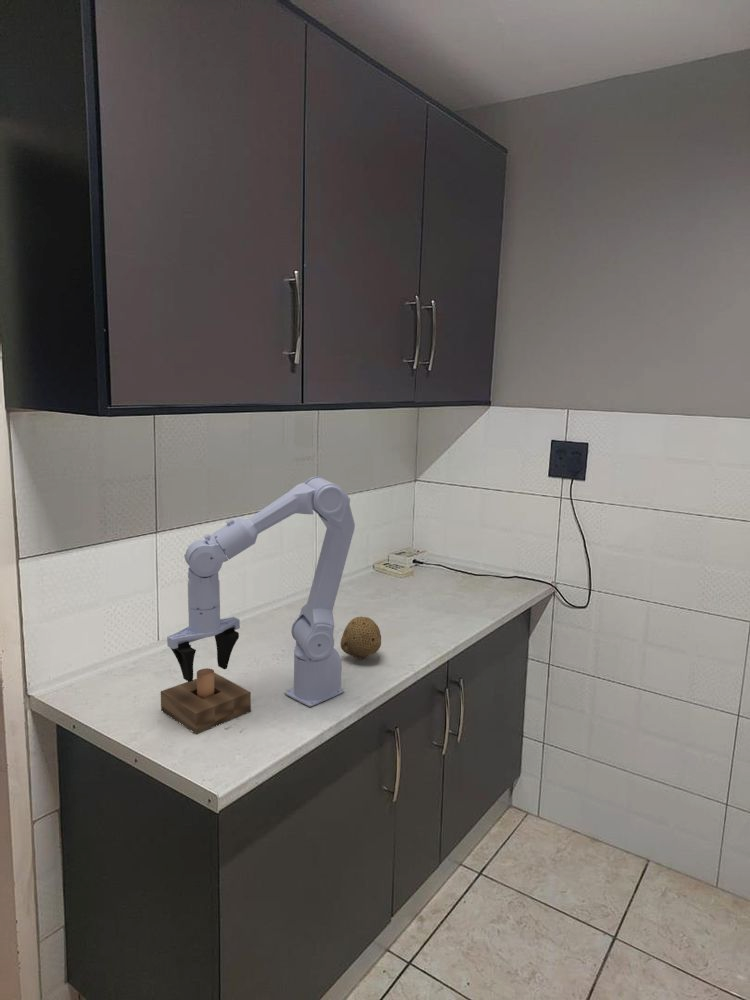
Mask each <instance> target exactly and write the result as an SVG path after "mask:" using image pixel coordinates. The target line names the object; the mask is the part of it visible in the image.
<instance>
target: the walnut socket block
mask: <svg viewBox="0 0 750 1000" xmlns="http://www.w3.org/2000/svg"><path fill="white" fill-rule="evenodd" d="M251 693H252V692H251V691H249V690H247V689H245V687H242V686H240V685H238V684H237V683H235V682H233V681H231V680H229V679H227V678H225V677H224V676H222V675H220V674H218V673H216V672H214V695H212V696H209V697H207V698H204V699H202V698H200V697H198V696H197V678H195V679H194V678H193V681H191V682H188V681H186V682H183V683H181V684H176V685H174V686H171V687H168V688H166V689H164V690H161V691H160V710H161V712H162V711H163V712H162V713H164V714H165V713H166V714H165V715H167V716H168V715H169V716H168V717H170V718H171V717H172V718H171V719H173V720H174V719H175V720H174V721H175V722H177V721H178V722H177V723H179V722H180V723H181V724H180V723H179V724H180V725H182V724H183V725H184V726H183V725H182V726H183V727H185V726H186V727H187V728H186V727H185V728H186V729H188V730H189V729H190V730H189V731H191V730H192V731H193V732H192V731H191V732H192V733H194V732H195V733H196V734H195V733H194V734H195V735H198V734H201V733H203V732H205V731H204V730H206V729H208V730H210V729H212V728H211V727H213V726H215V727H217V726H220V725H222V724H224V722H225V723H227V722H230V721H232V720H234V719H237V718H238V717H241V716H244V715H246V714H248V713H251V712H252V709H251V708H252V705H251V704H252V703H251V701H252V700H251V698H252V697H251ZM243 714H244V715H243ZM221 723H222V724H221ZM219 724H220V725H219ZM216 725H217V726H216ZM209 728H210V729H209ZM213 728H214V727H213ZM202 731H203V732H202ZM206 731H207V730H206ZM200 732H201V733H200ZM197 733H198V734H197Z"/></svg>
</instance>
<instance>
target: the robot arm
mask: <svg viewBox="0 0 750 1000" xmlns="http://www.w3.org/2000/svg"><path fill="white" fill-rule="evenodd" d="M350 503H351V498H350V497H349V495H348V494H347V493H346V491H344V489H343V488H342V487H341V486H340V485H338V484H336V483H333V482H331V481H329V480H327V479H326V478H324V477H322V476H312V477H310V478H308V479H306V480H305V482H301V483H299V484H296V485H295V486H294V487H293V488H291V489H290V490H289V491H288V492H285V493H284V495H281V496H280V497H279V498H277V499H275V500H273V502H272V503H270V504H269V505H267V506H266V507H264V508H262V509H261V510H259V511H258V512H257V513H255V514H254V515H252V516H251V517H249V518H243V517H237V518H236V519H233V518H231V517H230V518H229V519H228V520H226V522H225V523H226V525H224V526H222V527H221V528H220V529H217V530H216V531H214V532H213V533H211V534H210V533H207V534H205V535H203V538H204V539H197V540H195V541H193V542H191V543H190V544H189V545H188V546H187V549H186V551H185V553H184V560H185V562H186V564H187V566H188V569H187V570H188V572H187V578H188V580H187V605H188V607H187V608H188V626H186V627H185V628H183V629H181V630H179V631H177V632H175V633H172V634H170V635H167V636H166V638H167V640H166V641H167V643H166V644H167V647H168V648H170V649H171V651H172V653H173V655H174V656H175V659H177V663H178V665H179V668H180V671H181V673H182V677H183V680H184V681H186V682H191V681H193V680H194V661H195V655H196V652H197V650H196V649H195V648H193V647H192V644H190V643H192V642H195V641H196V642H197V641H200V640H201V639H202V640H203V639H206V638H210V637H211V638H212V637H214V639H215V645H216V655H217V657H216V661H217V666H218V667H219V668H220V669H223V670H227V669H228V665H229V662H230V658H231V655H232V651H233V650H234V647H235V645H236V643H237V641H238V640H239V637H240V635H239V632H238V631H237V630H239V629H241V627H240V626H241V625H240V624H241V623H240V618H237V617H235V616H231V617H227V618H222V619H221V599H220V598H221V596H220V595H221V594H220V593H221V592H220V591H221V590H220V588H221V587H220V585H221V584H220V580H219V572H220V570H221V569H222V566H223V563H226V562H228V561H229V560H231V559H232V558H235V557H236V556H238V555H239V554H241V553H242V552H244V551H246V550H247V549H248V548H250V547H252V546H254V545H255V544H256V542H257V538H258V536H259V534H261V533H262V532H265V531H266V530H268V529H269V528H271V527H273V526H275V525H276V524H278V523H281V522H282V521H284V520H286V519H288V518H290V517H291V516H293V515H295V514H301V515H314V512H315V513H316V514H317V515H318V517H319V518H320V520H321V521H322V522H323V524H324V526H325V527H326V530H325V533H324V538H323V541H322V546H321V550H320V552H319V553H320V554H319V557H318V561H317V564H316V569H315V571H314V576H313V580H312V583H311V587H310V590H309V595H308V599H307V601H306V603H305V604H304V605H303V606H302V607H301V608H300V613H299V615H298V617H297V618H296V619H295V620H294V621H293V623H292V625H291V636H292V638H293V639H294V640H295V642H296V641H297V645H295V648H294V649H293V687H292V688H290V689H288V690H285V691H284V695H286V696H288V697H290V699H291V698H292V699H293V700H295V701H297V702H299V703H300V704H303V705H305V706H307V707H309V708H310V707H314V706H316V705H318V704H321V703H322V702H324V701H325V702H326V701H328V700H330V699H331V698H334V697H337V696H338V695H340V694H343V693H344V692H345V690H344V689H343V688H342V670H343V669H342V668H343V667H342V666H343V665H342V658H341V655H340V653H339V652H338V650H337V649H336V648H334V647H335V638H334V630H335V622H334V619H335V618H334V615H333V614H334V613H333V612H334V611H333V610H334V607H335V602H336V599H337V595H338V592H339V587H340V584H341V581H342V578H343V577H342V576H343V572H344V569H345V566H346V562H347V558H348V554H349V551H350V546H351V543H352V539H353V536H354V533H355V532H354V531H355V526H356V525H355V520H354V517H353V513H352V508H351V506H350Z"/></svg>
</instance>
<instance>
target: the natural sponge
mask: <svg viewBox="0 0 750 1000" xmlns="http://www.w3.org/2000/svg"><path fill="white" fill-rule="evenodd" d="M381 645H382V633H381V630H380V628H379V625H378V624H377V623H376V622H375V621H374V619H371V617H366V616H356V617H354V618H352V619H351V620H349V622H348V623H347V625H346V626H345V628H344V631H343V634H342V636H341V639H340V648H341V650H342V651H343V652H344V653H345V654H348V655H349V656H351V657H353V658H355V659H357V660H364V659H367V657H369V656H372V655H374V654H376V653H377V652H378V651H379V650H380V648H381Z"/></svg>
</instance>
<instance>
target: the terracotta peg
mask: <svg viewBox="0 0 750 1000" xmlns="http://www.w3.org/2000/svg"><path fill="white" fill-rule="evenodd" d="M214 673H215V670H214V669H212V668H208V667H207V668H201V669H198V670H197V671H196V679H197V696H198V697H200V698H202V699H204V698H207V697H209V696H212V695H214Z"/></svg>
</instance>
